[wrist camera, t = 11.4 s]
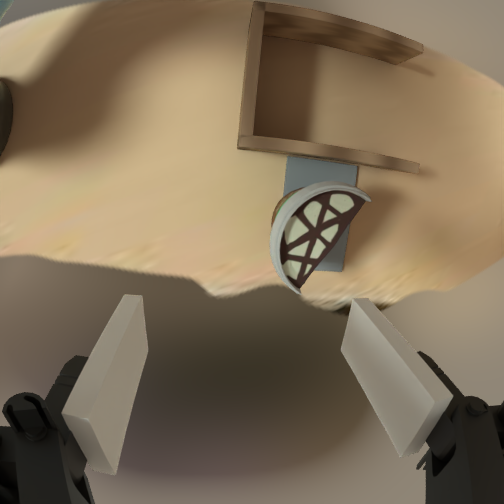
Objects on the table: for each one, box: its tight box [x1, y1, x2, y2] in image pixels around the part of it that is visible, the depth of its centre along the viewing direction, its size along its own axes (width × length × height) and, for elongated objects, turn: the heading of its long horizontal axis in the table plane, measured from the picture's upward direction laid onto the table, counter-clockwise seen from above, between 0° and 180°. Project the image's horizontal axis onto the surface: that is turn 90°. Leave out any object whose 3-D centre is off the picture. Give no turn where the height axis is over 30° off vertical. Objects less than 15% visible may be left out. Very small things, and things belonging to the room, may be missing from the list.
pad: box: [283, 156, 357, 272], centre depth 38 cm, size 9×14×1 cm, turn 175°
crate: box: [237, 1, 423, 174], centre depth 30 cm, size 20×16×7 cm
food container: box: [270, 181, 372, 295], centre depth 32 cm, size 12×6×10 cm, turn 145°
